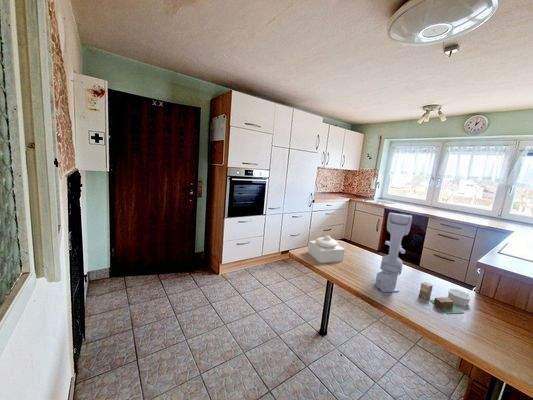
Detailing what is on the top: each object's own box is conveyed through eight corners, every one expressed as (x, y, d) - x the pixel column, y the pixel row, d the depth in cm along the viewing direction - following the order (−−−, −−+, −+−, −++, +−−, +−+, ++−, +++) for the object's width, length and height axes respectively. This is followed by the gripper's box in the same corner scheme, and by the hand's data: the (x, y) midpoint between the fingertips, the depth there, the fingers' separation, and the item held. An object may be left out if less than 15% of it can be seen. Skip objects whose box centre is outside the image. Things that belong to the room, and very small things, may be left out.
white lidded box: (307, 252, 166) (309, 231, 163) (329, 251, 171) (332, 230, 168) (319, 263, 150) (322, 240, 147) (343, 261, 155) (346, 239, 152)
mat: (447, 313, 106) (447, 313, 106) (429, 300, 116) (429, 300, 115) (464, 313, 107) (464, 312, 107) (444, 300, 117) (445, 299, 117)
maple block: (425, 299, 117) (428, 286, 115) (418, 295, 120) (421, 282, 119) (430, 297, 118) (432, 285, 117) (423, 294, 121) (425, 281, 120)
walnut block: (441, 302, 108) (454, 301, 109) (434, 297, 112) (447, 297, 113) (439, 308, 109) (452, 308, 110) (433, 304, 112) (445, 303, 113)
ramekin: (456, 295, 122) (458, 288, 121) (474, 306, 113) (476, 298, 113) (442, 296, 120) (444, 288, 120) (458, 307, 112) (460, 299, 111)
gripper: (411, 242, 127) (407, 265, 130) (393, 234, 141) (390, 254, 144) (400, 242, 126) (396, 265, 129) (383, 233, 140) (379, 254, 143)
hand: (392, 260), depth 136 cm, fingers closed
